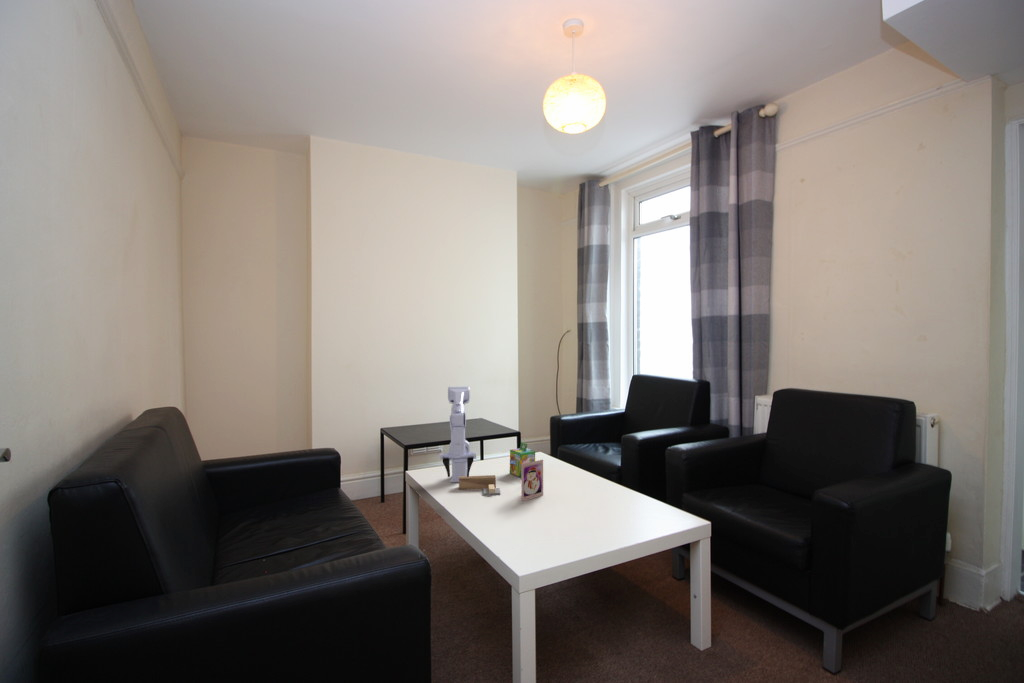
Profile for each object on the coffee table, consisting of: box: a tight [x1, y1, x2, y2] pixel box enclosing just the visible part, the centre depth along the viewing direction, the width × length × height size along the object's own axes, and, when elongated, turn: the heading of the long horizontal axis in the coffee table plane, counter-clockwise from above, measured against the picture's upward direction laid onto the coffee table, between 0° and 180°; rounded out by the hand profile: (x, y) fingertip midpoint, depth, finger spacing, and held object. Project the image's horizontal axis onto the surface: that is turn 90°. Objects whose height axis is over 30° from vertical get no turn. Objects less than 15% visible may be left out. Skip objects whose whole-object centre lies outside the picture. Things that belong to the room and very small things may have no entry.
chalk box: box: [509, 442, 536, 478], centre depth 225 cm, size 9×9×15 cm
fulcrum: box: [482, 484, 501, 496], centre depth 199 cm, size 6×7×2 cm
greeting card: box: [520, 457, 544, 502], centre depth 194 cm, size 11×7×15 cm, turn 126°
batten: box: [458, 474, 497, 491], centre depth 205 cm, size 4×16×5 cm, turn 95°
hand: (458, 476), depth 189 cm, fingers open, 7 cm apart
